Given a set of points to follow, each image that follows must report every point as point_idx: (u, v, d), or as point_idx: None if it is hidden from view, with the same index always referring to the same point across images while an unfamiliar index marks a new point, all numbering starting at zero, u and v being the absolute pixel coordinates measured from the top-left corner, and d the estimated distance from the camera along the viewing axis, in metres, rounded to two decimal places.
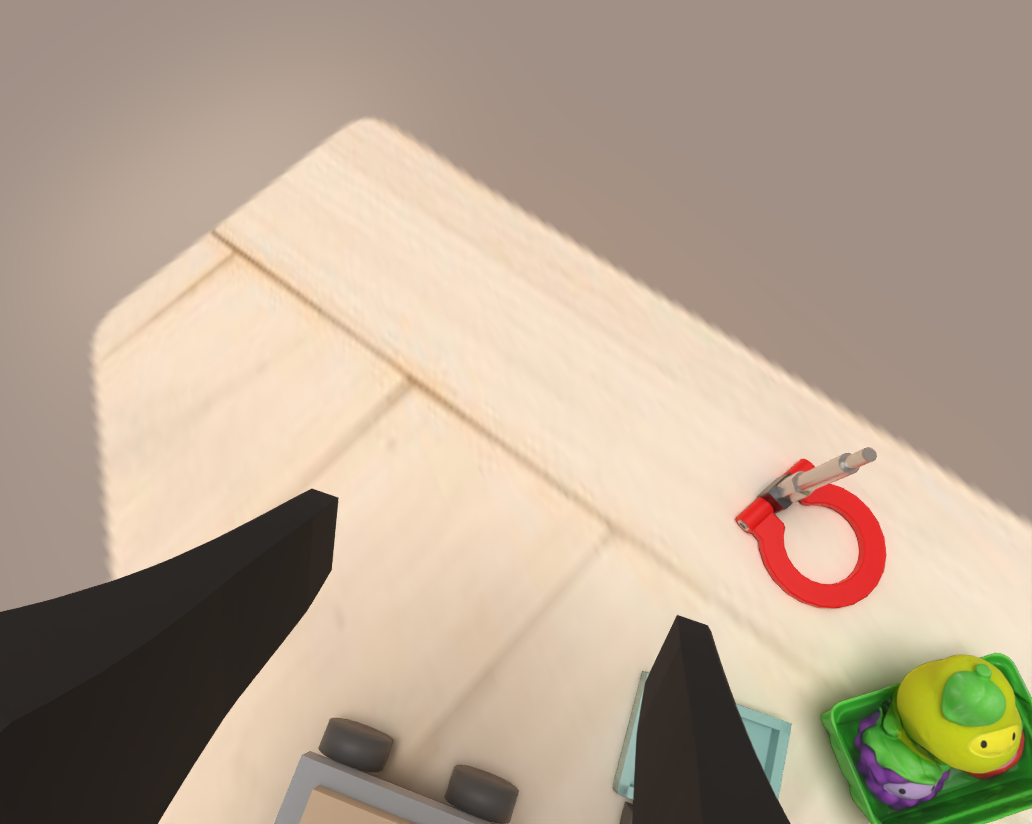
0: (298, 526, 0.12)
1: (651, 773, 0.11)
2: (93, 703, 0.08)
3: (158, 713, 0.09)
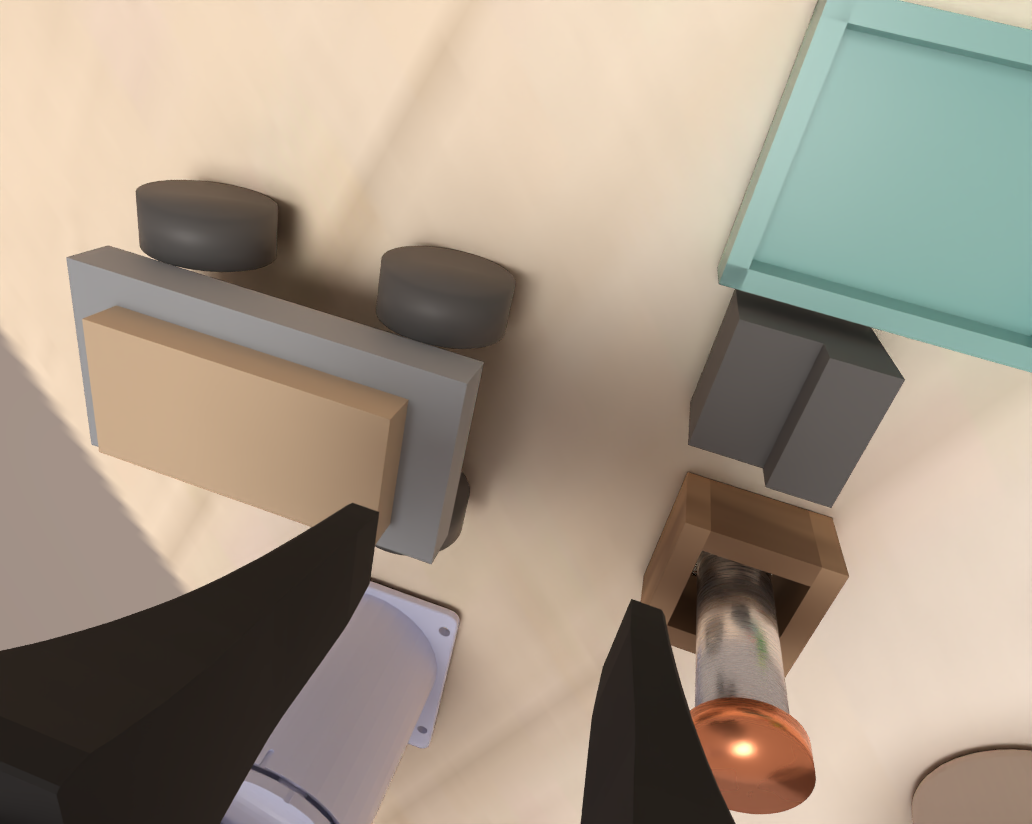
0: (343, 542, 0.12)
1: (600, 754, 0.11)
2: (160, 730, 0.08)
3: (214, 736, 0.09)
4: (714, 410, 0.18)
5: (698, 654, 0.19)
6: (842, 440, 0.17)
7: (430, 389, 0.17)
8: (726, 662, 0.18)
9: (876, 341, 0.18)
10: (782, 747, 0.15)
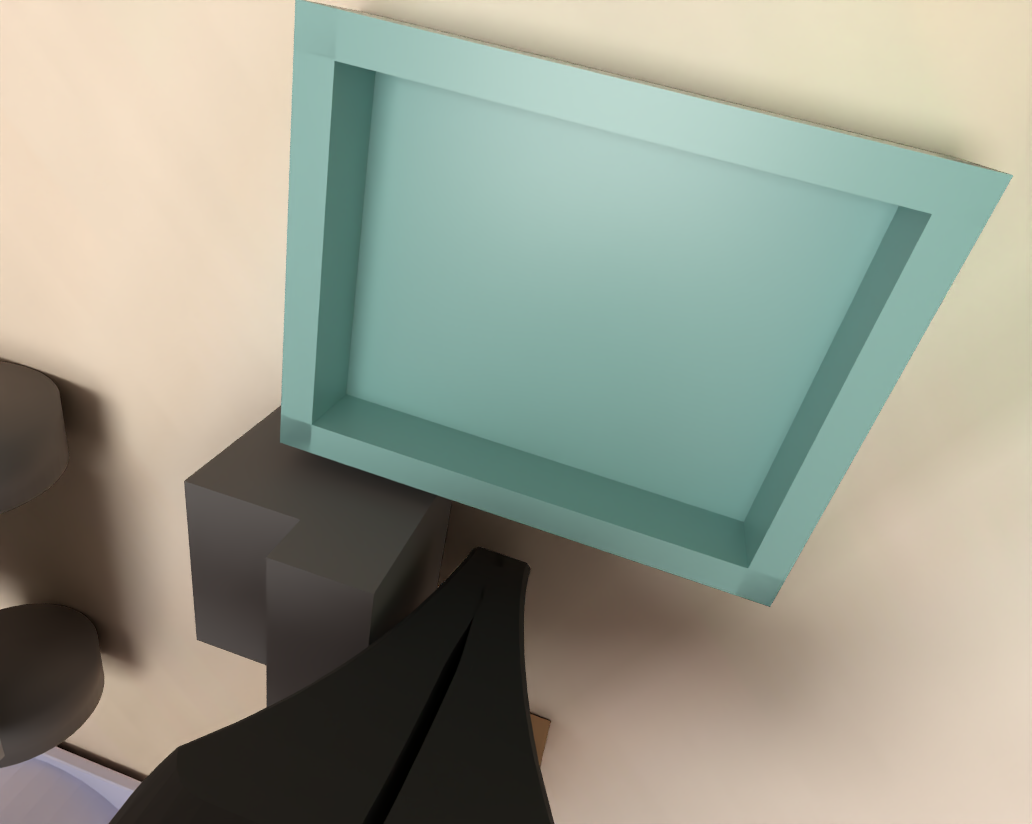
0: (487, 592, 0.11)
1: None
2: (373, 817, 0.07)
3: None
4: (207, 598, 0.13)
5: None
6: (331, 668, 0.11)
7: None
8: None
9: (427, 498, 0.12)
10: None
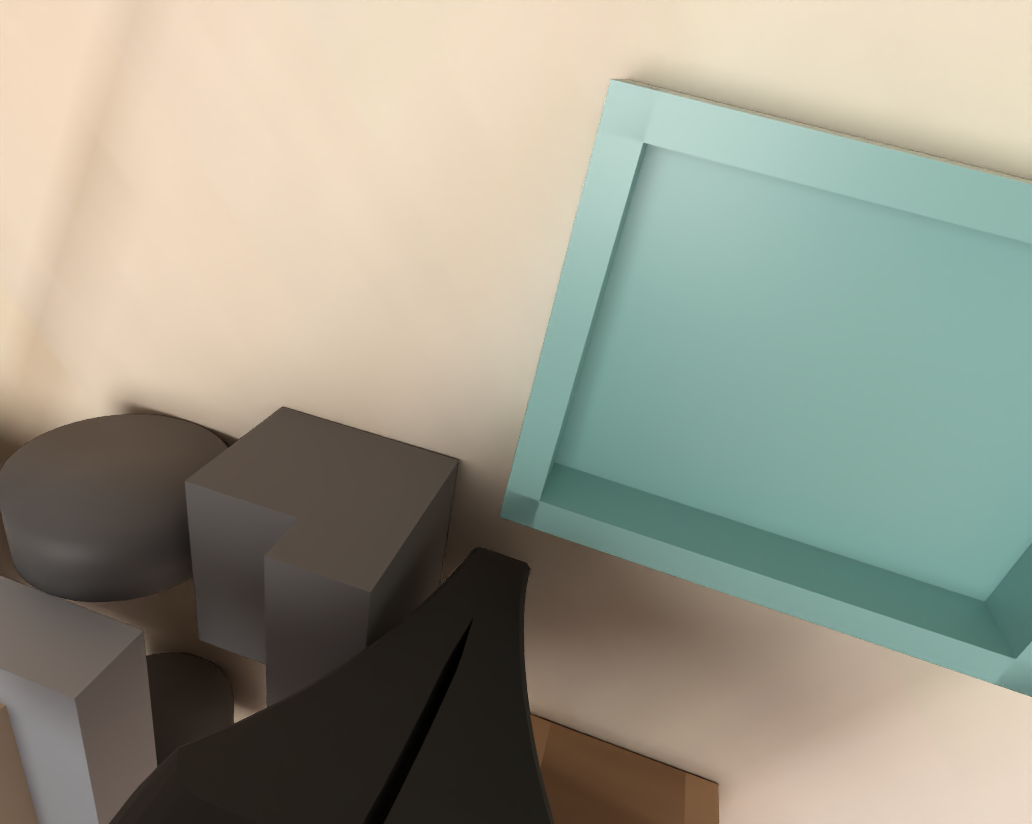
0: (487, 592, 0.11)
1: None
2: (374, 817, 0.07)
3: None
4: (209, 599, 0.13)
5: None
6: (330, 667, 0.11)
7: (28, 697, 0.11)
8: None
9: (426, 498, 0.12)
10: None
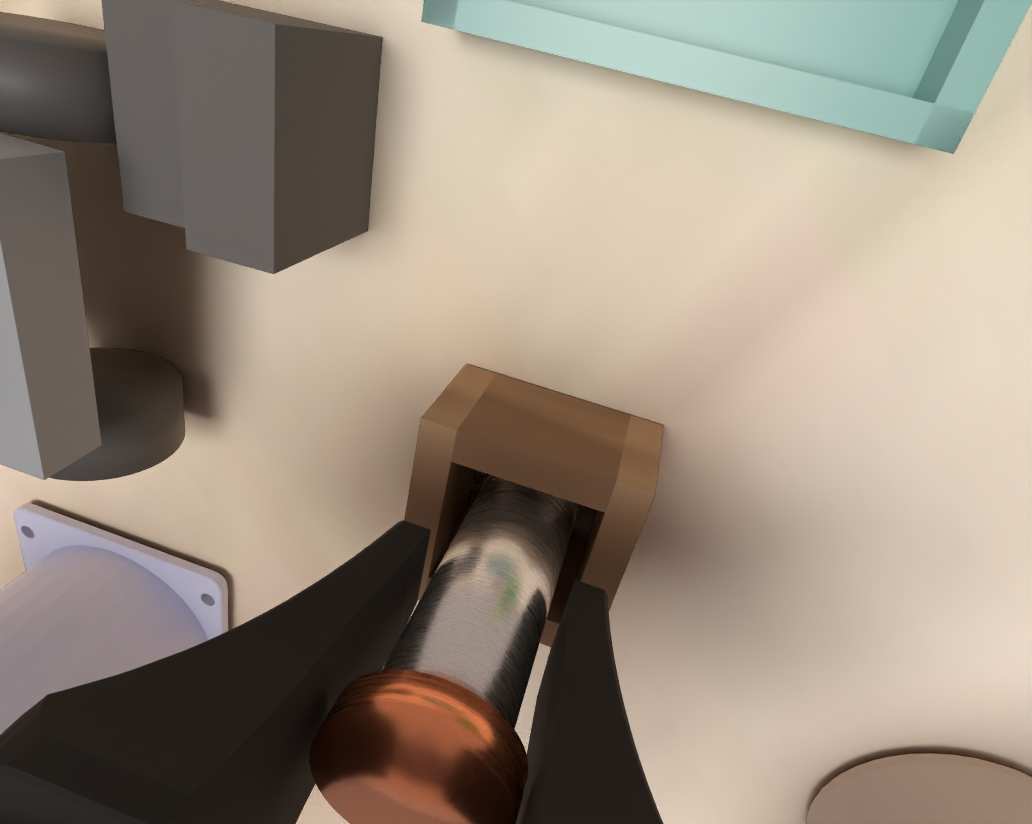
0: (401, 562, 0.12)
1: (538, 730, 0.11)
2: (244, 765, 0.08)
3: (285, 765, 0.09)
4: (131, 148, 0.13)
5: None
6: (242, 151, 0.11)
7: None
8: (429, 617, 0.11)
9: (345, 31, 0.12)
10: (449, 753, 0.09)
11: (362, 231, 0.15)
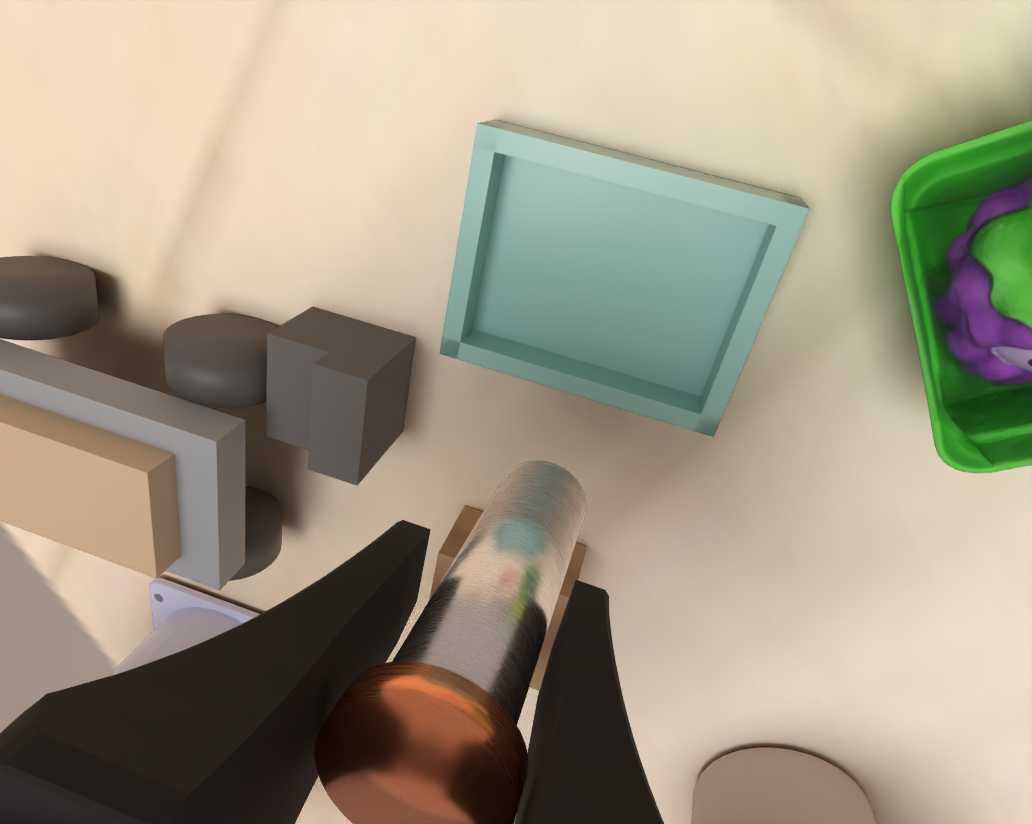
0: (400, 562, 0.12)
1: (538, 731, 0.11)
2: (244, 765, 0.08)
3: (284, 764, 0.09)
4: (274, 407, 0.23)
5: None
6: (344, 430, 0.21)
7: (189, 445, 0.21)
8: (435, 619, 0.12)
9: (397, 349, 0.22)
10: (454, 741, 0.09)
11: (400, 433, 0.25)
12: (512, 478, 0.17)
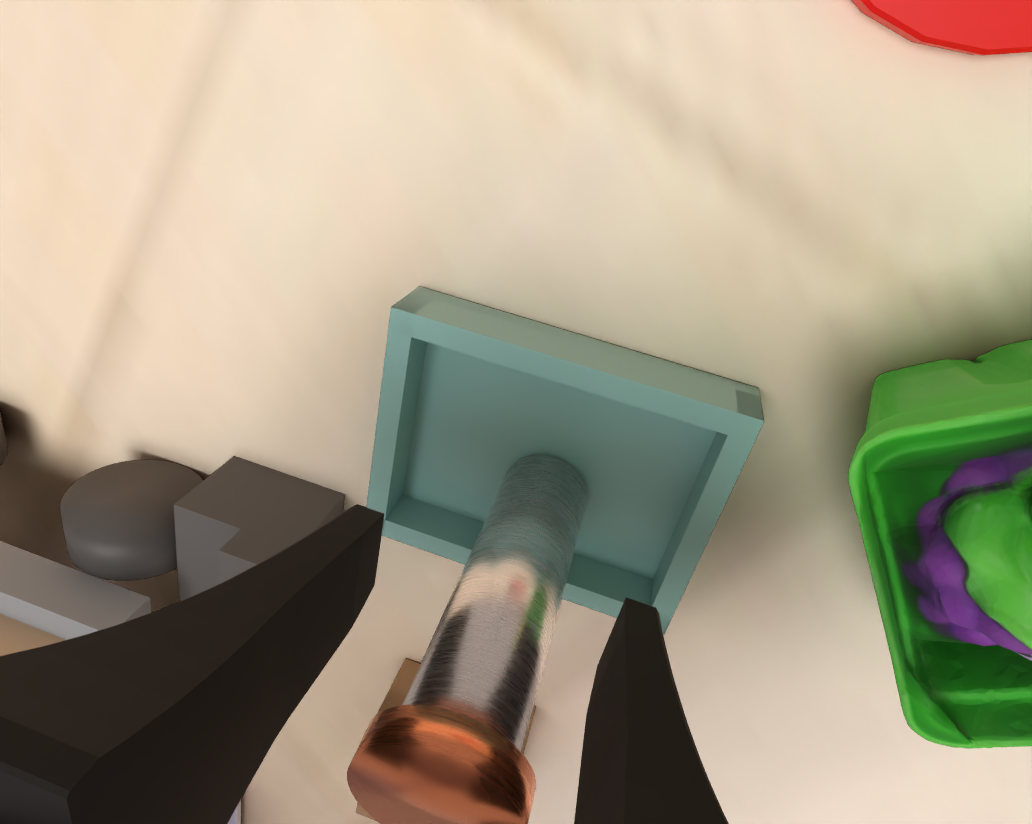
0: (349, 543, 0.12)
1: (594, 752, 0.11)
2: (168, 733, 0.08)
3: (221, 738, 0.09)
4: (186, 575, 0.20)
5: (435, 633, 0.14)
6: None
7: None
8: (447, 648, 0.13)
9: (320, 516, 0.20)
10: (468, 781, 0.10)
11: None
12: (516, 476, 0.17)
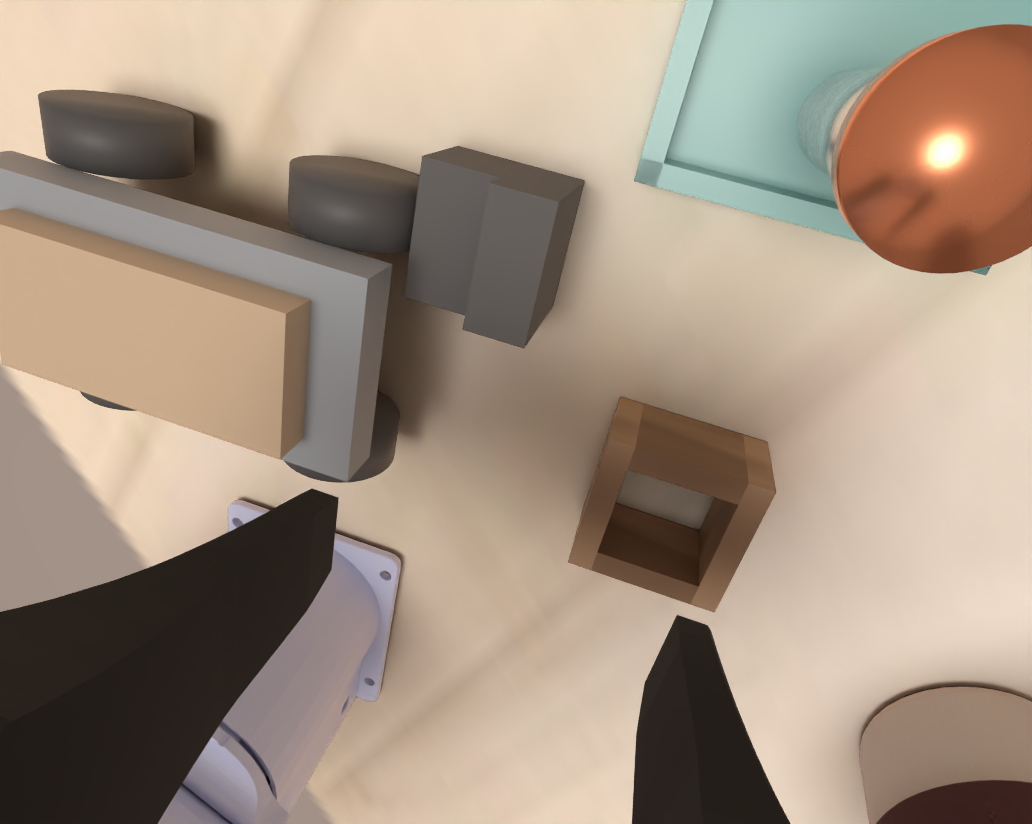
0: (298, 525, 0.12)
1: (651, 774, 0.11)
2: (93, 703, 0.08)
3: (158, 713, 0.09)
4: (418, 257, 0.19)
5: (840, 120, 0.12)
6: (518, 273, 0.17)
7: (332, 286, 0.17)
8: None
9: (572, 185, 0.18)
10: None
11: (551, 307, 0.21)
12: (837, 75, 0.16)
